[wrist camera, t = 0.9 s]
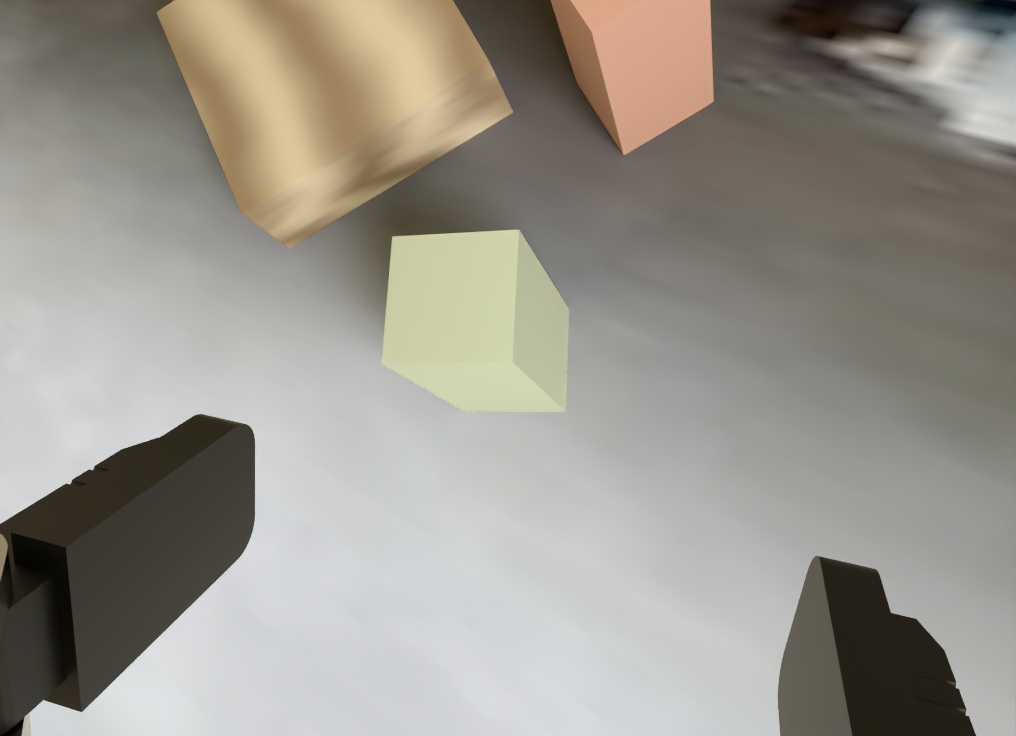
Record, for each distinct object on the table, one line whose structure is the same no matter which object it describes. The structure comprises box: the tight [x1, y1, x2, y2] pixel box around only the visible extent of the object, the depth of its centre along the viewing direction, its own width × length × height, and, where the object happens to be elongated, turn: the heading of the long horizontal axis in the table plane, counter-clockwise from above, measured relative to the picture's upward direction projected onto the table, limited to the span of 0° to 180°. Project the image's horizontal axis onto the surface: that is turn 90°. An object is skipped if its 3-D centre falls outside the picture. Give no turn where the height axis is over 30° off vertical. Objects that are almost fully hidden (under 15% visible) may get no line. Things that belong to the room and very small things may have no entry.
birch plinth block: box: [156, 0, 513, 248], centre depth 44 cm, size 14×14×5 cm
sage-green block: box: [381, 230, 569, 412], centre depth 35 cm, size 5×5×10 cm
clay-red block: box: [551, 0, 714, 155], centre depth 36 cm, size 5×5×10 cm
